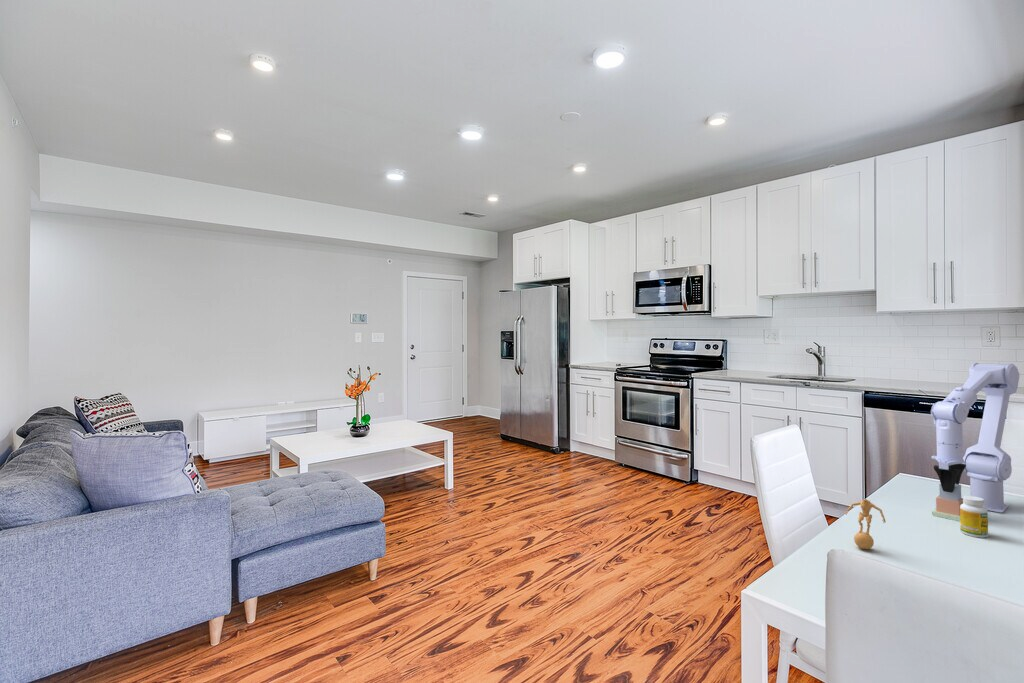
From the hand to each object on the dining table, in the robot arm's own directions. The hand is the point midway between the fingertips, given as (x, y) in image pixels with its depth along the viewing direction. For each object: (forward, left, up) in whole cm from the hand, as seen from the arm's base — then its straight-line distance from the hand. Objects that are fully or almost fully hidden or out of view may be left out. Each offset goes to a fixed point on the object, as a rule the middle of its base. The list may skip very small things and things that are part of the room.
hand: (950, 489), depth 142 cm
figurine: (+44, -8, -8) cm, 45 cm away
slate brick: (0, 0, -2) cm, 2 cm away
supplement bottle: (+13, +7, -8) cm, 16 cm away
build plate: (0, 0, -8) cm, 8 cm away
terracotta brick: (0, 0, -6) cm, 6 cm away
